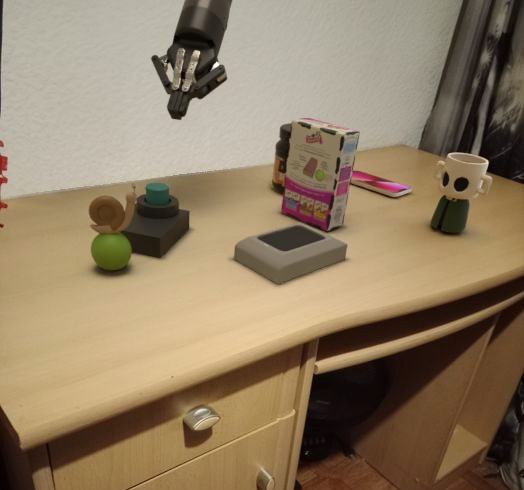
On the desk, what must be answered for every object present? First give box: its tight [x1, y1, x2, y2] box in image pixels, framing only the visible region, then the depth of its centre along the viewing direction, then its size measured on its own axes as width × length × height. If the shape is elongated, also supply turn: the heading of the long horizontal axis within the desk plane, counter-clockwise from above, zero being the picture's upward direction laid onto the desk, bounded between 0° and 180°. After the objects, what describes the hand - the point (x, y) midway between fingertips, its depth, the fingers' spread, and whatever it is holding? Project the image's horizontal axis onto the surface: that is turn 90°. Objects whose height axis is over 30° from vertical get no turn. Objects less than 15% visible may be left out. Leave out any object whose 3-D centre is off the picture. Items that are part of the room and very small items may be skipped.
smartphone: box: [350, 170, 412, 198], centre depth 118 cm, size 7×1×15 cm
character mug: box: [430, 152, 493, 234], centre depth 97 cm, size 11×7×13 cm, turn 42°
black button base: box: [119, 193, 191, 259], centre depth 85 cm, size 13×9×5 cm
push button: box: [145, 182, 170, 205], centre depth 85 cm, size 4×4×2 cm
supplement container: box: [271, 122, 291, 195], centre depth 108 cm, size 10×10×12 cm
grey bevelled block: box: [233, 221, 348, 285], centre depth 83 cm, size 10×4×15 cm
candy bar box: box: [280, 117, 361, 232], centre depth 94 cm, size 11×5×16 cm, turn 47°
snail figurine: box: [88, 182, 138, 271], centre depth 73 cm, size 5×6×12 cm
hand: (174, 116), depth 85 cm, fingers closed
